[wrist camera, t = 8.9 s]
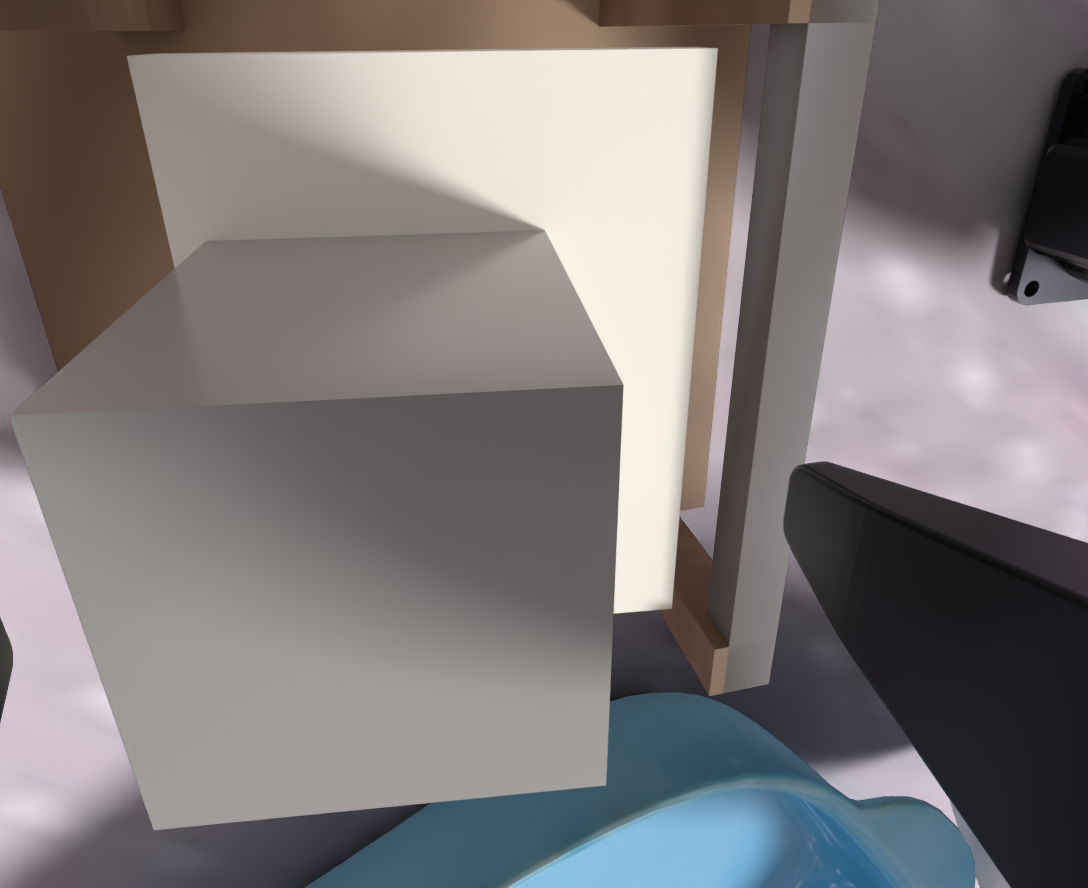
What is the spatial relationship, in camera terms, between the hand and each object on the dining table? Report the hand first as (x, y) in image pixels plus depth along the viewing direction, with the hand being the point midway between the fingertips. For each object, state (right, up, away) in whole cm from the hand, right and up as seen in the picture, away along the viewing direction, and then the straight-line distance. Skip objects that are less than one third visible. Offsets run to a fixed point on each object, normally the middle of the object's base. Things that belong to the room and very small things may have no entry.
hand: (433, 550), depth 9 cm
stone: (-1, +2, +4) cm, 5 cm away
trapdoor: (0, +3, +5) cm, 6 cm away
